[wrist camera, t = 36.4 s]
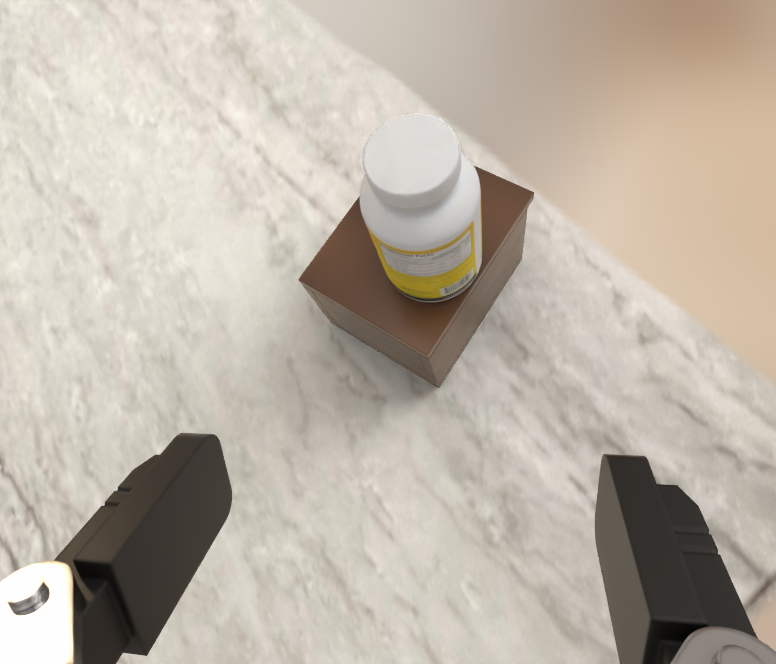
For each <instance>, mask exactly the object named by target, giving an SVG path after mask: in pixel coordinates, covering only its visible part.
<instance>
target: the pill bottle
mask: <svg viewBox="0 0 776 664" xmlns="http://www.w3.org/2000/svg"><path fill="white" fill-rule="evenodd" d="M363 167H364V171H365V176H364V179H363V181H362V185H361V189H360V208H361V213H362V216H363V219H364V221H365V224H366V226H367V229H368V231H369V234H370V236H371V238H372V241H373V243H374V246H375V248H376V251H377V253H378V255H379V258H380V260H381V262H382V265H383V267H384V270H385V272H386V274H387V276H388V278H389V280H390V282H391V283H392V284H393V286H394V287H395V288H396V289H397V290H398V291H399V292H401V293H402V294H404V295H405V296H407V297H409V298H411V299H414V300H417V301H421V302H440V301H444V300H448V299H450V298H452V297H455V296H456V295H458V294H460V293H461V292H463V291H464V290H465V289H466V288H467V287H468V286H469V285H470V284H471V283H472V282H473V280H474V279H475V277H476V276H477V274H478V272H479V269H480V266H481V262H482V217H481V189H480V182H479V177H478V174H477V172H476V169H475V167H474V166H473V164H472V163H471V161H470V160H469V159H468V157H467V156H466V155H465V154H464V153H462V152H461V151H460V147H459V142H458V139H457V137H456V135H455V133H454V131H453V130H452V129H451V128H450V127H449V125H447V124H446V123H445V122H444V121H442V120H441V119H439V118H437V117H434V116H431V115H428V114H422V113H411V114H405V115H400V116H397V117H395V118H392V119H390V120H388V121H387V122H385V123H383V124H382V125H381V126H380V127H378V128H377V129H376V130H375V131H374V132H373V134H372V135H371V136H370V138H369V139H368V141H367V143H366V145H365V148H364V152H363Z"/></svg>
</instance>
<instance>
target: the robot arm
mask: <svg viewBox="0 0 776 664" xmlns="http://www.w3.org/2000/svg"><path fill="white" fill-rule="evenodd" d="M231 503H232V489H231V485H230V481H229V476H228V472H227V468H226V464H225V460H224V456H223V452H222V448H221V444H220V441H219V439H218V437H217V436H216V435H213V434H194V433H180V434H178V435H177V436H176V437H175V438H174V439H173V440H172V442H171V443H170V444H169V445H168V446H167V448H166V449H165V450H164V451H163V452H162V454H161V455H154V456H153V457H151V458H150V459H149V460H147V461H146V462H144V463H143V464H141V465H140V466H138V467H137V468H135V469H134V470H133V471H132V472H131V473H130V474H129V475H128V476H127V478H126V479H125V480H124V481H123V482H122V483H121V484H120V486H119V487H118V490H117V491H114V492H113V494H112V495H111V496H110V497H109V498H108V499H107V500H106V502H105V506H101V507H100V508H99V510H98V511H97V512H96V513H95V514H94V515H93V516H92V518H91V519H90V520H89V521H88V522H87V523H86V524H85V526H84V527H83V528H82V529H81V530H80V531H79V532H78V534H77V535H76V536H75V537H74V538H73V539H72V540H71V542H70V543H69V544H68V545H67V546H66V547H65V548H64V550H63V551H62V552H61V553H60V554H59V555H58V556H57V558H56V559H55V560H54V561H45V562H40V563H36V564H33V565H30V566H27V567H25V568H23V569H21V570H19V571H17V572H15V573H13V574H12V575H10V576H9V577H7V578H6V579H4V580H3V581H2V582H0V664H116V663H117V661H118V660H119V658H120V656H121V655H122V653H130V654H138V655H145V656H147V655H148V653H149V651H150V650H151V648H152V646H153V644H154V643H155V641H156V639H157V638H158V636H159V634H160V632H161V631H162V629H163V627H164V626H165V624H166V622H167V620H168V619H169V617H170V615H171V614H172V612H173V610H174V608H175V607H176V605H177V603H178V601H179V600H180V598H181V596H182V595H183V593H184V591H185V589H186V588H187V586H188V584H189V583H190V581H191V579H192V577H193V576H194V574H195V572H196V571H197V569H198V567H199V565H200V564H201V562H202V560H203V559H204V557H205V555H206V553H207V552H208V550H209V548H210V547H211V545H212V543H213V541H214V540H215V538H216V536H217V535H218V533H219V531H220V529H221V528H222V526H223V524H224V523H225V521H226V519H227V517H228V515H229V512H230V508H231ZM595 537H596V546H597V552H598V557H599V562H600V567H601V572H602V576H603V581H604V586H605V591H606V596H607V601H608V606H609V611H610V616H611V621H612V626H613V631H614V636H615V641H616V646H617V651H618V656H619V661H620V664H776V652H775V651H774V650H773V649H772V648H770V647H769V646H768V645H766V644H765V643H763V642H762V641H760V640H759V639H758V638H757V636H756V634H755V632H754V630H753V628H752V626H751V623H750V621H749V619H748V617H747V614H746V612H745V610H744V608H743V605H742V603H741V601H740V599H739V596H738V594H737V592H736V590H735V587H734V585H733V583H732V581H731V578H730V576H729V574H728V572H727V569H726V567H725V565H724V563H723V560H722V558H721V556H720V555H718V549H717V547H716V545H715V542H714V540H713V538H712V536H711V535H710V534H709V529H708V527H707V524H706V522H705V520H704V518H703V515H702V513H701V511H700V509H699V506H698V505H697V504H696V503H695V502H694V501H693V500H692V499H691V498H690V497H689V496H687V495H686V494H685V493H684V492H683V491H682V490H681V489H680V488H679V487H678V486H677V485H661V484H656V481H655V478H654V476H653V473H652V470H651V468H650V465H649V462H648V460H647V458H646V457H645V456H632V455H611V454H604V455H603V457H602V461H601V468H600V477H599V486H598V494H597V503H596V512H595Z"/></svg>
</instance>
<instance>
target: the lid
mask: <svg viewBox="0 0 776 664" xmlns="http://www.w3.org/2000/svg"><path fill="white" fill-rule="evenodd" d="M474 167H475V169H476V172H477V174H478V177H479V182H480V189H481V217H482V262H481V266H480V269H479V272H478V274H477V276H476V277H475V279H474V280H473V282H472V283H471V284H470V285H469V286H468V287H467V288H466V289H465V290H464V291H463V292H461V293H460V294H458V295H456V296H455V297H452V298H450V299H448V300H444V301H440V302H421V301H417V300H414V299H411V298H409V297H407V296H405V295H404V294H402V293H401V292H399V291H398V290H397V289H396V288H395V287H394V286H393V284H392V283H391V282H390V280H389V278H388V276H387V274H386V272H385V270H384V267H383V265H382V262H381V260H380V258H379V255H378V253H377V251H376V248H375V246H374V243H373V241H372V238H371V236H370V234H369V231H368V229H367V226H366V224H365V221H364V219H363V216H362V213H361V208H360V196H359V198H358V199H357V200H356V202H355V203H354V204H353V206H352V207H351V208H350V210H349V211H348V213H347V214H346V215H345V217H344V218H343V219H342V221H341V222H340V224H339V225H338V226H337V228H336V229H335V230H334V232H333V233H332V234H331V236H330V237H329V239H328V240H327V241H326V243H325V244H324V245H323V247H322V248H321V249H320V251H319V252H318V254H317V255H316V256H315V258H314V259H313V260H312V262H311V263H310V264H309V266H308V267H307V269H306V270H305V271H304V273H303V274H302V275H301V277H300V278H299V281H300V282H301V284H302V285H304V286H306V287H307V288H309V289H311V290H312V291H314V292H316V293H317V294H319V295H321V296H323V297H324V298H326V299H328V300H329V301H331V302H333V303H334V304H336V305H338V306H340V307H341V308H343V309H345V310H346V311H348V312H350V313H351V314H353V315H355V316H356V317H358V318H360V319H362V320H363V321H365V322H367V323H368V324H370V325H372V326H373V327H375V328H377V329H379V330H380V331H382V332H384V333H385V334H387V335H389V336H390V337H392V338H394V339H396V340H397V341H399V342H401V343H402V344H404V345H406V346H407V347H409V348H411V349H412V350H414V351H416V352H418V353H419V354H421V355H423V356H424V357H426V358H428V359H429V358H430V356H431V355H432V353H433V351H434V350H435V348H436V347H437V345H438V344H439V342H440V341H441V339H442V338H443V336H444V335H445V333H446V332H447V330H448V329H449V327H450V325H451V324H452V322H453V321H454V319H455V318H456V316H457V315H458V313H459V312H460V310H461V309H462V307H463V306H464V304H465V303H466V301H467V300H468V298H469V296H470V295H471V293H472V292H473V290H474V289H475V287H476V286H477V284H478V283H479V281H480V280H481V278H482V277H483V275H484V274H485V272H486V271H487V269H488V267H489V266H490V264H491V263H492V261H493V260H494V258H495V257H496V255H497V254H498V252H499V251H500V249H501V248H502V246H503V245H504V243H505V241H506V240H507V238H508V237H509V235H510V234H511V232H512V231H513V229H514V228H515V226H516V225H517V223H518V222H519V220H520V219H521V217H522V216H523V214H524V212H525V211H526V209H527V208H528V206H529V205H530V203H531V202H532V200H533V197H534V192H532V191H530V190H527V189H525V188H523V187H521V186H518V185H516V184H514V183H512V182H509V181H507V180H505V179H503V178H500V177H498V176H496V175H494V174H491V173H489V172H487V171H485V170H482V169H480V168H478V167H476V166H474Z"/></svg>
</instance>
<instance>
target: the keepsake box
mask: <svg viewBox="0 0 776 664" xmlns="http://www.w3.org/2000/svg"><path fill="white" fill-rule="evenodd" d="M526 216H527V209H526V211H525V212H524V214H523V216H522V217H521V219H520V220H519V222H518V223H517V225H516V226H515V228H514V229H513V231H512V232H511V234H510V235H509V237H508V238H507V240H506V241H505V243H504V245H503V246H502V248H501V249H500V251H499V252H498V254H497V255H496V257H495V258H494V260H493V261H492V263H491V264H490V266H489V267H488V269H487V271H486V272H485V274H484V275H483V277H482V278H481V280H480V281H479V283H478V284H477V286H476V287H475V289H474V290H473V292H472V293H471V295H470V296H469V298H468V300H467V301H466V303H465V304H464V306H463V307H462V309H461V310H460V312H459V313H458V315H457V316H456V318H455V319H454V321H453V322H452V324H451V325H450V327H449V329H448V330H447V332H446V333H445V335H444V336H443V338H442V339H441V341H440V342H439V344H438V345H437V347H436V348H435V350H434V351H433V353H432V355H431V356H430V358H429V359H428V358H426V357H424V356H423V355H421V354H419V353H418V352H416V351H414V350H412V349H411V348H409V347H407V346H406V345H404V344H402V343H401V342H399V341H397V340H396V339H394V338H392V337H390V336H389V335H387V334H385V333H384V332H382V331H380V330H379V329H377V328H375V327H373V326H372V325H370V324H368V323H367V322H365V321H363V320H362V319H360V318H358V317H356V316H355V315H353V314H351V313H350V312H348V311H346V310H345V309H343V308H341V307H340V306H338V305H336V304H334V303H333V302H331V301H329V300H328V299H326V298H324V297H323V296H321V295H319V294H317V293H316V292H314V291H312V290H311V289H309V288H307V287H306V286H304V285H303V286H304V288H305V289H306V290H307V292H308V293H309V294H310V296H311V297H312V298H313V300H314V301H315V302H316V303H317V305H318V306H319V307H320V309H321V310H322V311H323V313H324V314H325V315H326V316H327V318H328V319H329V320H330V322H331V323H332V324H334V325H336V326H337V327H339V328H341V329H342V330H344V331H346V332H347V333H349V334H351V335H352V336H354V337H356V338H357V339H359V340H361V341H362V342H364V343H365V344H367V345H369V346H370V347H372V348H374V349H375V350H377V351H379V352H380V353H382V354H384V355H385V356H387V357H389V358H390V359H392V360H394V361H395V362H397V363H399V364H400V365H402V366H404V367H405V368H407V369H408V370H410V371H412V372H413V373H415V374H417V375H418V376H420V377H422V378H423V379H425V380H427V381H428V382H430V383H432V384H433V385H435V386H437V387H438V388H439V387H440V386H441V384H442V383H443V381H444V380H445V378H446V376H447V375H448V373H449V372H450V370H451V369H452V367H453V366H454V364H455V362H456V361H457V359H458V358H459V356H460V355H461V353H462V352H463V350H464V348H465V347H466V345H467V344H468V342H469V341H470V339H471V338H472V336H473V334H474V333H475V331H476V330H477V328H478V327H479V325H480V323H481V322H482V320H483V319H484V317H485V316H486V314H487V313H488V311H489V309H490V308H491V306H492V305H493V303H494V302H495V300H496V299H497V297H498V295H499V294H500V292H501V291H502V289H503V288H504V286H505V285H506V283H507V281H508V280H509V278H510V277H511V275H512V274H513V272H514V270H515V269H516V267H517V266H518V264H519V263H520V261H521V260H522V252H523V243H524V234H525V225H526Z"/></svg>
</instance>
